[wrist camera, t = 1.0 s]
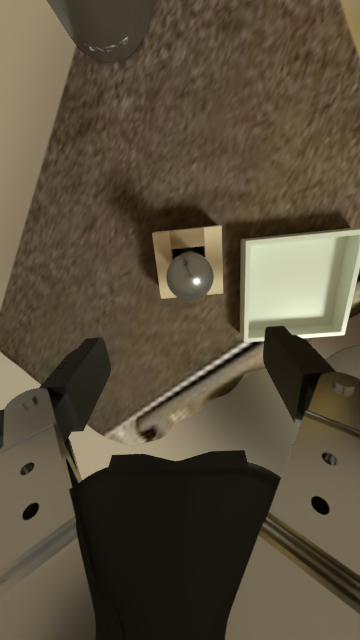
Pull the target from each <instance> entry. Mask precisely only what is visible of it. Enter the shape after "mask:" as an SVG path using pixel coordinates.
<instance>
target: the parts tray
mask: <svg viewBox="0 0 360 640" xmlns="http://www.w3.org/2000/svg"><path fill="white" fill-rule="evenodd" d="M359 268H360V228H345V229H335V230H325V231H315V232H305V233H295V234H286V235H276V236H266V237H256V238H246V239H240V335H241V337H242V339H243V341H244V342H256V341H264V338H265V329H266V327H269V326H285V328H286V329H287V330H288V331H289V332H290V333H291V334H292V335H297V336H299V337H301V338H313V337H327V336H341V335H345V331H346V327H347V322H348V318H349V313H350V309H351V304H352V300H353V295H354V291H355V286H356V282H357V277H358V273H359Z"/></svg>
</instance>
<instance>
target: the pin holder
mask: <svg viewBox="0 0 360 640" xmlns="http://www.w3.org/2000/svg"><path fill="white" fill-rule="evenodd" d="M152 237H153V244H154V251H155V258H156V266H157V273H158V280H159V287H160V294H161V299H163V298H175V297H177V296H175V295H174V294H173V293H172V292H171V291H170V289H169V287H168V284H167V280H166V275H167V270H168V267H169V265H170V263H171V262H172V260H173V259H174V250H173V249H179V248H189V247H199V246H203V257H205V258H206V259H207V260H208V262H209V263H210V265H211V267H212V270H213V275H214V279H213V284H212V286H211V288H210V290H209V291H208V293H207V294H206V295H210V294H222V293H223V268H222V226H220V225H214V226H204V227H195V228H185V229H176V230H167V231H157V232H154V233H152Z"/></svg>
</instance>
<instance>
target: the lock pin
mask: <svg viewBox="0 0 360 640" xmlns="http://www.w3.org/2000/svg"><path fill="white" fill-rule="evenodd" d="M213 279H214V275H213V270H212V267H211V265H210V263H209V262H208V260H207V259H206V258H205V257H203V256H202V255H200V254H198V252H197V251H196V250H194V249H192V248H187V249H184V250H183V251H181V253H180V254H179V255H178V256H177V257H176V258H174V259H173V260H172V262H171V263H170V265H169V267H168V270H167V275H166V280H167V284H168V287H169V289H170V291H171V292H172V293H173V294H174V295H175V296H177V297H178V298H180V299H183V300H196V299H199V298H201V297H203V296H204V295H206V294H207V293H208V291H209V290H210V288H211V286H212V284H213Z"/></svg>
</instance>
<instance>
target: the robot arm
mask: <svg viewBox="0 0 360 640" xmlns="http://www.w3.org/2000/svg"><path fill="white" fill-rule="evenodd" d="M47 1H48V3H49V4H50V6H51V8H52V9H53V11H54V12H55V14H56V15H57V17H58V19H59V20H60V22H61V23H62V25H63V26H64V28H65V30H66V31H67V33H68V34H69V36H70V37H71V39H72V40H73V41H74V43H75V44H76V45H77V47H78V48H80V49H81V50H82V51H83V52H84V53H85V54H86V55H88V56H89V57H91V58H93V59H95V60H97V61H101V62H104V63H114V62H118V61H121V60H124V59H125V58H127V57H128V56H130V55H131V54H132V53H133V52H134V51H135V50H136V49H137V48H138V47H139V45H140V43H141V42H142V40H143V38H144V36H145V34H146V31H147V28H148V25H149V22H150V16H151V11H152V0H47ZM263 360H264V364H265V367H266V369H267V371H268V373H269V375H270V377H271V379H272V381H273V383H274V384H275V386H276V388H277V390H278V392H279V394H280V396H281V398H282V400H283V402H284V404H285V405H286V407H287V409H288V411H289V413H290V415H291V417H292V419H293V421H294V423H301V424H300V427H299V430H298V433H297V435H296V438H295V441H294V444H293V446H292V449H291V452H290V455H289V458H288V460H287V463H286V466H285V469H284V472H283V474H282V477H280V476H278V475H277V474H275V473H273V472H272V471H270V470H268V469H266V468H264V467H262V466H258V465H256V464H253V463H249V462H247V459H246V455H245V451H244V450H242V451H241V450H240V451H215V452H214V451H212V452H208V453H205V454H201V455H198V456H194V457H191V458H188V459H185V460H182V461H171V460H167V459H163V458H158V457H154V456H150V455H146V454H132V455H131V454H129V455H112V458H111V461H110V464H109V467H107V468H104V469H102V470H100V471H97V472H95V473H94V474H92V475H90V476H88V477H87V478H85V479H84V480H82V479H81V476H80V473H79V469H78V466H77V462H76V459H75V456H74V453H73V449H72V446H71V442H70V440H69V438H68V437H69V435H70V433H71V432H74V431H83V430H84V428H85V426H86V424H87V422H88V420H89V418H90V416H91V414H92V412H93V409H94V407H95V405H96V403H97V401H98V399H99V397H100V395H101V393H102V391H103V388H104V386H105V384H106V382H107V380H108V378H109V376H110V372H111V365H110V360H109V357H108V353H107V349H106V346H105V342H104V340H103V338H90V339H85V340H84V342H83V343H82V344H81V345H80V347H79V348H78V349H75V350H74V351H72V352H71V353H70V354H68V355H67V356H66V357H65V358H64V359H63V360H62V362H61V364H59V365H58V366H57V368H56V369H55V370H54V371H53V372H52V373H51V375H50V376H49V377H48V378H47V379H46V380H45V382H44V383H43V384H42V385H41V386H40V388H36V389H31V390H28V391H26V392H24V393H21V394H20V395H18V396H16V397H15V398H14V399H12V400H11V401H10V402H9V403H8V404H7V406H6V407H5V409H4V410H0V640H360V380H359V379H358V378H356V377H354V376H351V375H348V374H345V373H341V372H336V371H335V370H334V369H333V368H332V367H331V365H330V364H329V363H328V362H327V361H326V360H325V359H324V358H322V356H321V355H320V354H318V352H317V351H316V350H315V349H314V348H313V347H312V346H311V345H310V344H309V343H308V342H307V341H306V340H305V339H303V338H301V337H299V336H297V335H292V334H291V333H290V332H289V331H288V330H287V329H286V328H285V326H269V327H266V329H265V338H264V351H263Z"/></svg>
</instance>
